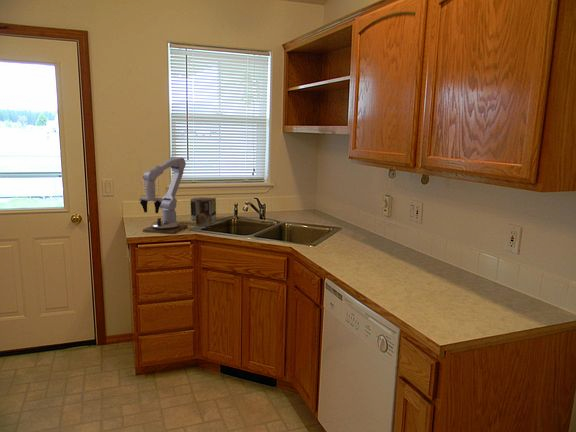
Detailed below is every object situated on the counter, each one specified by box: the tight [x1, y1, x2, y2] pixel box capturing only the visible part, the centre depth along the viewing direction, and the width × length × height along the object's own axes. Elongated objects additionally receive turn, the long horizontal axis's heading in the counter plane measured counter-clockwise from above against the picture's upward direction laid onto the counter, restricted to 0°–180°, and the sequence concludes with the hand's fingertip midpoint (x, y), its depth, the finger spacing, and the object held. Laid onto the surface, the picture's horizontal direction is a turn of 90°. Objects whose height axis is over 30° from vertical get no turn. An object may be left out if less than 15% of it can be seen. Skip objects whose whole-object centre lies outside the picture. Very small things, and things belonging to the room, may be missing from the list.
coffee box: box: [195, 200, 213, 227], centre depth 290 cm, size 9×6×16 cm
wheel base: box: [142, 224, 188, 235], centre depth 277 cm, size 19×20×2 cm
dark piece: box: [190, 196, 217, 222], centre depth 309 cm, size 15×10×15 cm, turn 82°
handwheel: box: [150, 217, 181, 229], centre depth 276 cm, size 17×17×6 cm
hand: (151, 212), depth 280 cm, fingers open, 7 cm apart
